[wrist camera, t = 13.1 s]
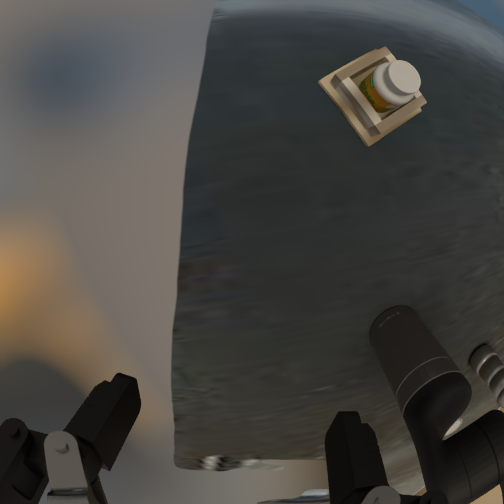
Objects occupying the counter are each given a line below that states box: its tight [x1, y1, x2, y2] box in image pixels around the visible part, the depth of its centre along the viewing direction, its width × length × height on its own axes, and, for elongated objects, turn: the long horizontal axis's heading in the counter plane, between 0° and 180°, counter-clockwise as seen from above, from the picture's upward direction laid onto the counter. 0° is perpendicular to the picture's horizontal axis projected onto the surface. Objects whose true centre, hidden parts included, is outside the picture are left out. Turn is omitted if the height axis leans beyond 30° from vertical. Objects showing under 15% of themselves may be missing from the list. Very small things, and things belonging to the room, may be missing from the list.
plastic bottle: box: [471, 345, 504, 408], centre depth 32 cm, size 6×7×20 cm
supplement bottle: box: [358, 60, 421, 113], centre depth 25 cm, size 5×5×10 cm
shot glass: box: [444, 417, 463, 437], centre depth 43 cm, size 7×7×7 cm
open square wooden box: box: [318, 47, 427, 147], centre depth 28 cm, size 11×11×5 cm
